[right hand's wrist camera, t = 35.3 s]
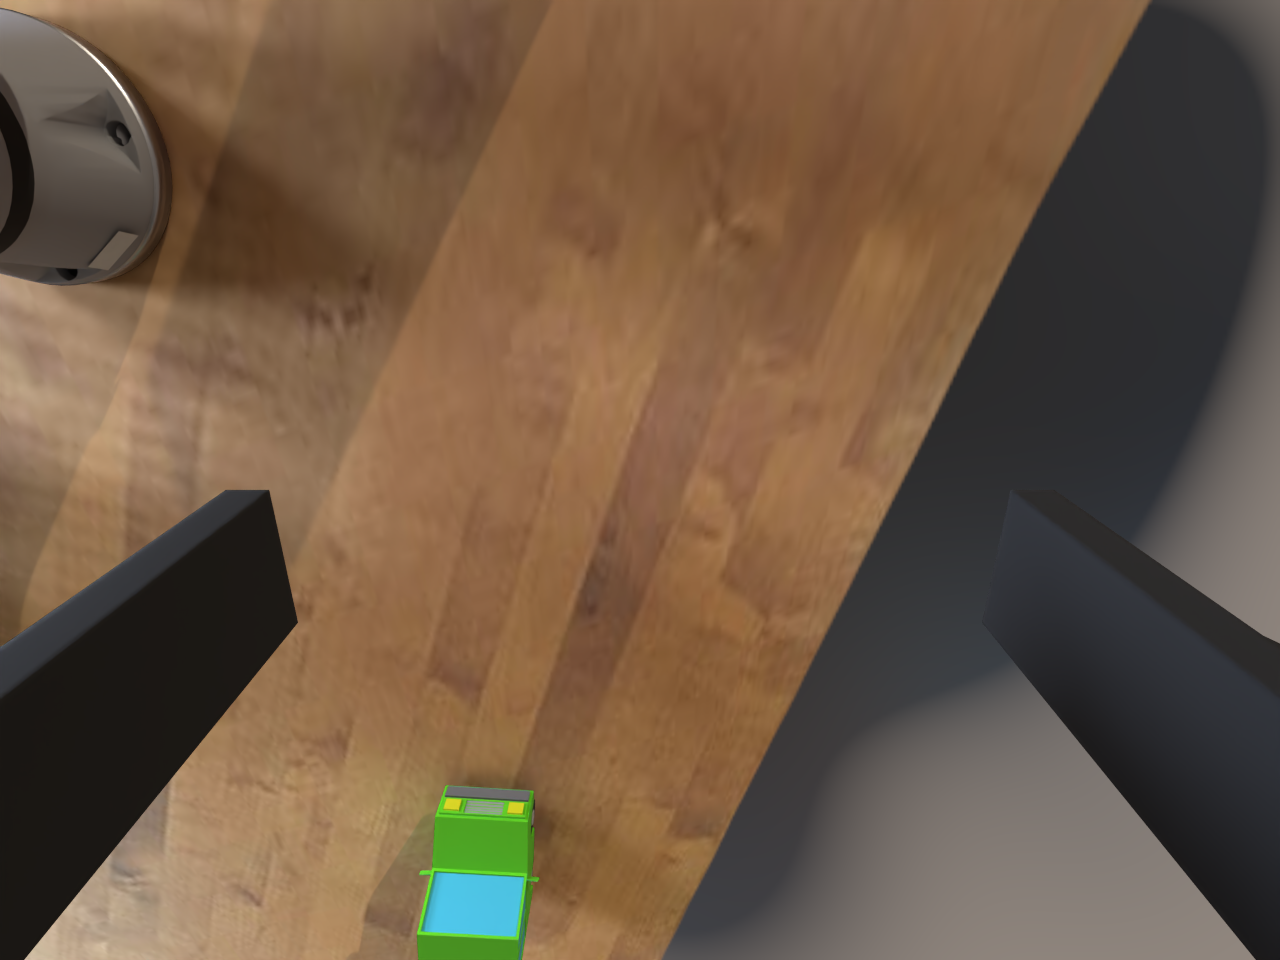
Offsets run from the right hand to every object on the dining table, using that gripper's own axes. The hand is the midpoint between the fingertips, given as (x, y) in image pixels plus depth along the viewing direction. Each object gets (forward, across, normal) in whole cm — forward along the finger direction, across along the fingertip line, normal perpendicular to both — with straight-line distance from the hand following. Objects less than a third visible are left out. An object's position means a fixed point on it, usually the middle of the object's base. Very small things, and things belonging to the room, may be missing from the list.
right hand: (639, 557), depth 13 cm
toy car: (+37, -14, -48) cm, 62 cm away
